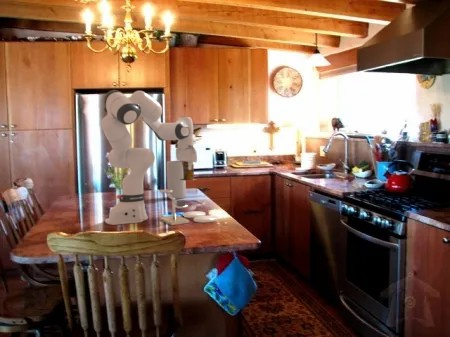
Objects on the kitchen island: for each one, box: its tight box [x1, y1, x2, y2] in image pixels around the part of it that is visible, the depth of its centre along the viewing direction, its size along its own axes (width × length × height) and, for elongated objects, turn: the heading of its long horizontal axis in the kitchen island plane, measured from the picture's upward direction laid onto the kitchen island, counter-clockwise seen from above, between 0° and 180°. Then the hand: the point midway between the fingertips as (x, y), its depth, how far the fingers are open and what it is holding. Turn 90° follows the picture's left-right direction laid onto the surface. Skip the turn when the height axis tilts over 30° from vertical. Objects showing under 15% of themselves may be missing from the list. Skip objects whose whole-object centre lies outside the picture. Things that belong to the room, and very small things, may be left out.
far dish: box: [181, 210, 207, 219], centre depth 258 cm, size 13×13×1 cm
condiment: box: [178, 161, 197, 181], centre depth 266 cm, size 7×8×12 cm
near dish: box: [193, 215, 219, 224], centre depth 245 cm, size 13×13×1 cm
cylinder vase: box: [166, 160, 187, 200], centre depth 319 cm, size 12×12×25 cm
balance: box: [159, 189, 190, 226], centre depth 243 cm, size 10×26×15 cm, turn 30°
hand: (186, 169), depth 266 cm, fingers closed on condiment, 6 cm apart
